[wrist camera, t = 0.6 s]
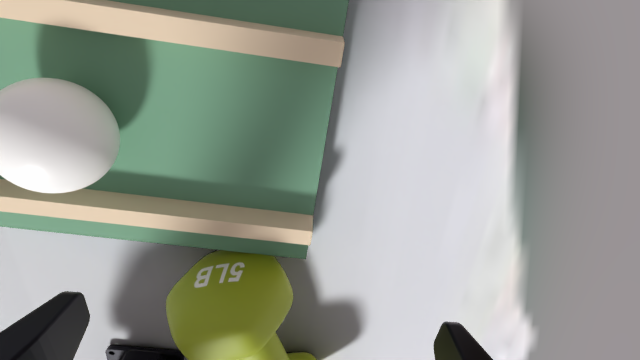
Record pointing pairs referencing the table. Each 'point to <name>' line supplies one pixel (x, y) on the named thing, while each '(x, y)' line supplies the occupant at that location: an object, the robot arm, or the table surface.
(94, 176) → the golf ball
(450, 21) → the table surface
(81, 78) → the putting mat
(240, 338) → the dumbbell
